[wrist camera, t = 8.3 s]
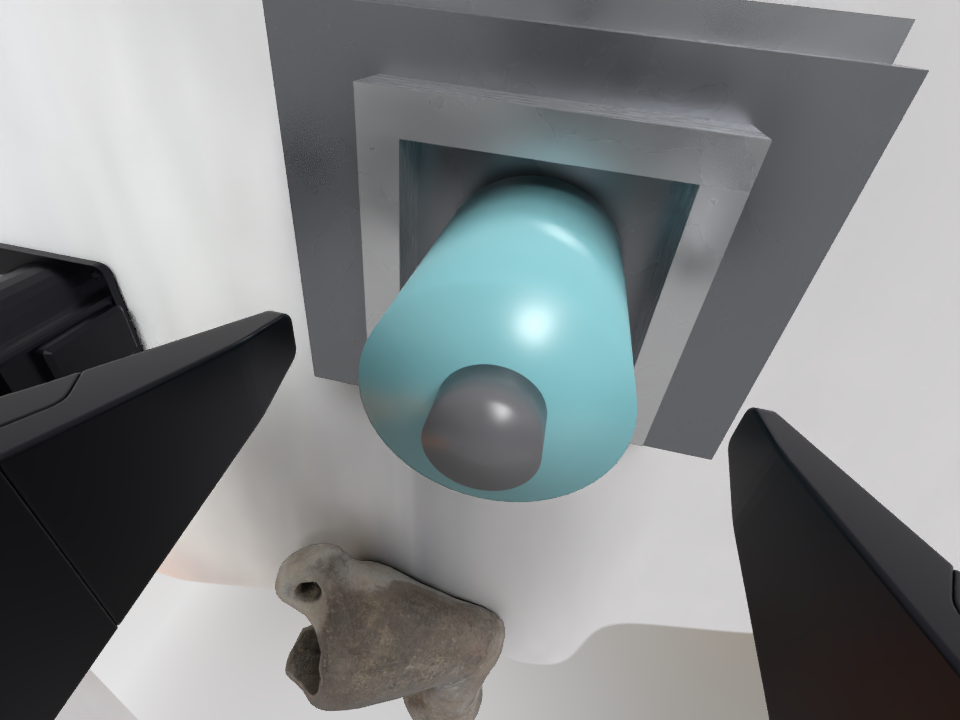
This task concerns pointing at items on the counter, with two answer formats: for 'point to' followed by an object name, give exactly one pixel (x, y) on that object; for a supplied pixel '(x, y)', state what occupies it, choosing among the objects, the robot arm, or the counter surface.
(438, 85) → the square aluminium tube flange
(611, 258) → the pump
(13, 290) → the robot arm
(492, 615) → the pipe
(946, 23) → the counter surface
